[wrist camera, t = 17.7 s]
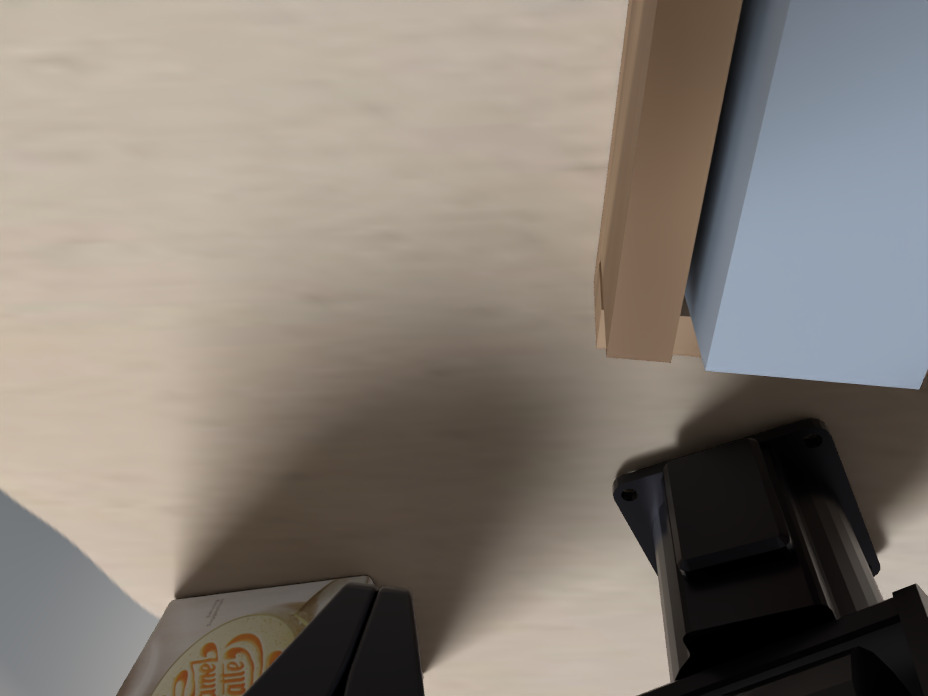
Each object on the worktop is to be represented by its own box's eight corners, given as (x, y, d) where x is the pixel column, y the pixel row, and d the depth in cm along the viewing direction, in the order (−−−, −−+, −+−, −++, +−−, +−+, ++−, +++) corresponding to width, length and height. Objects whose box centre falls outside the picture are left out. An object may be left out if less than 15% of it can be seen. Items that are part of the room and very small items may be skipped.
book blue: (920, -97, 14) (1125, -102, 8) (818, 248, 17) (918, 389, 12) (729, -101, 14) (814, -108, 9) (669, 237, 18) (705, 371, 12)
